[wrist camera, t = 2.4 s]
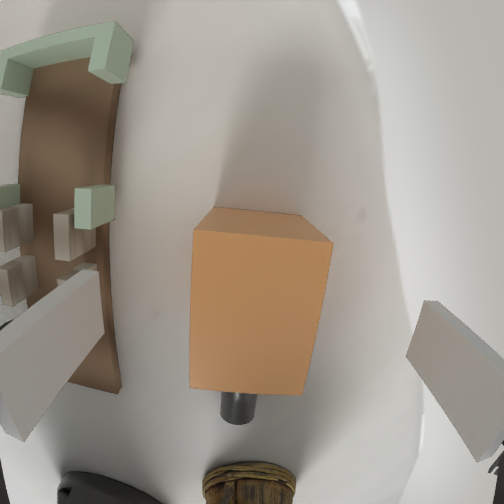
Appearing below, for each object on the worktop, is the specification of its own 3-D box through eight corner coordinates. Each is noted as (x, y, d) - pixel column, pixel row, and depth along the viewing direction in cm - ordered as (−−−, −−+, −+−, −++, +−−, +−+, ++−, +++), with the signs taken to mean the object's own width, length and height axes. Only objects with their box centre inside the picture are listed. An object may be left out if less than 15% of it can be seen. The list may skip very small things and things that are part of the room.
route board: (121, 386, 21) (103, 421, 17) (49, 367, 21) (25, 396, 17) (128, 44, 15) (101, 19, 11) (42, 59, 15) (7, 44, 11)
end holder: (114, 219, 17) (90, 229, 14) (10, 213, 16) (-18, 221, 13) (134, 40, 14) (115, 21, 11) (26, 60, 14) (0, 50, 11)
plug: (271, 404, 21) (278, 477, 15) (204, 399, 21) (192, 472, 14) (300, 215, 18) (333, 242, 11) (213, 207, 18) (193, 229, 11)
